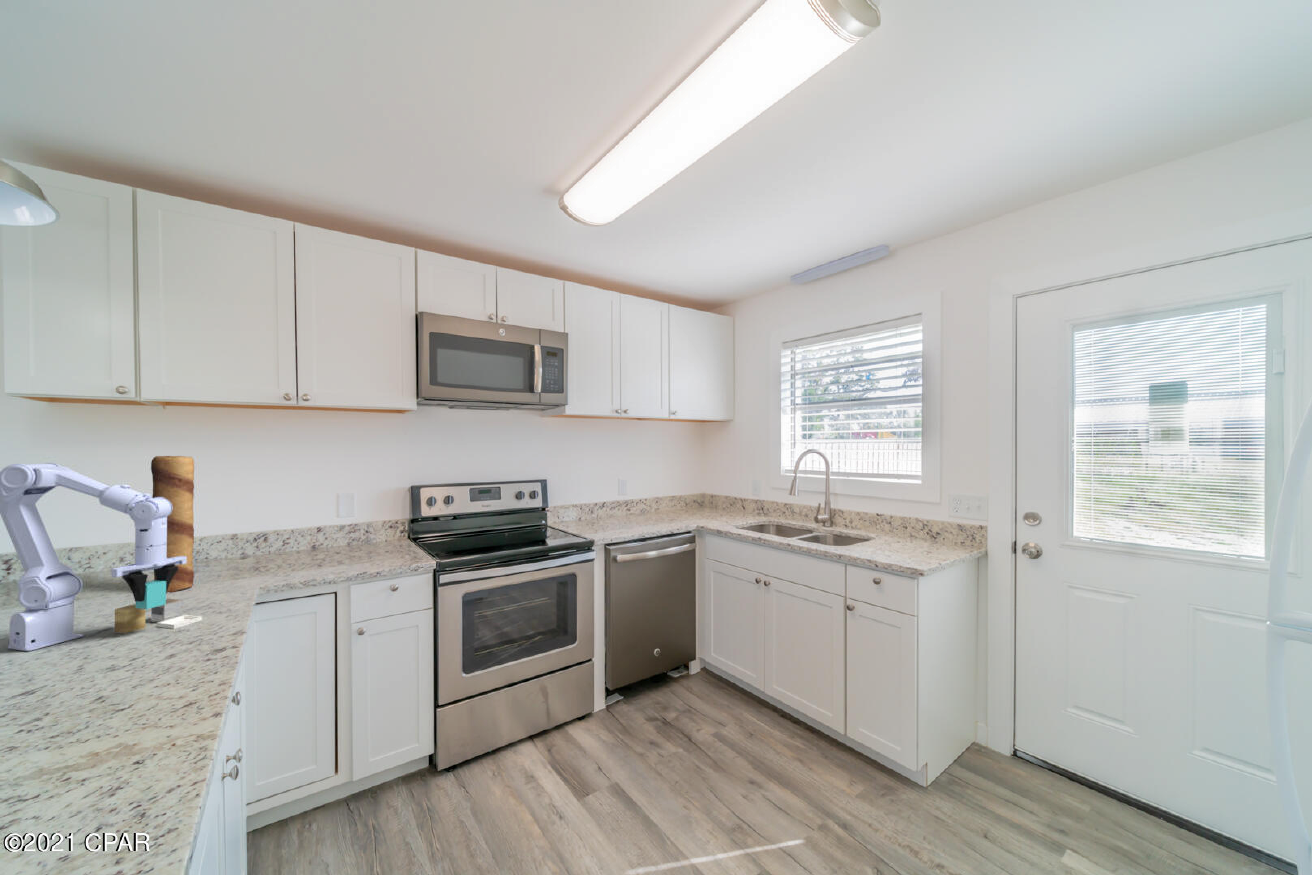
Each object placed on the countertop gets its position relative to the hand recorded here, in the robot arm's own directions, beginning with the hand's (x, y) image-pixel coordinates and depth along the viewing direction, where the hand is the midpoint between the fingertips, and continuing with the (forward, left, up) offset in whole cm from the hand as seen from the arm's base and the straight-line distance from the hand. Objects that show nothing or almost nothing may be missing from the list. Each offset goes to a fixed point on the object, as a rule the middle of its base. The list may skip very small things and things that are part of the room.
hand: (150, 598), depth 127 cm
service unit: (+8, +7, -9) cm, 14 cm away
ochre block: (0, +7, -9) cm, 12 cm away
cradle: (+7, 0, -9) cm, 11 cm away
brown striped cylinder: (+30, +42, -9) cm, 52 cm away
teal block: (0, 0, -2) cm, 2 cm away
